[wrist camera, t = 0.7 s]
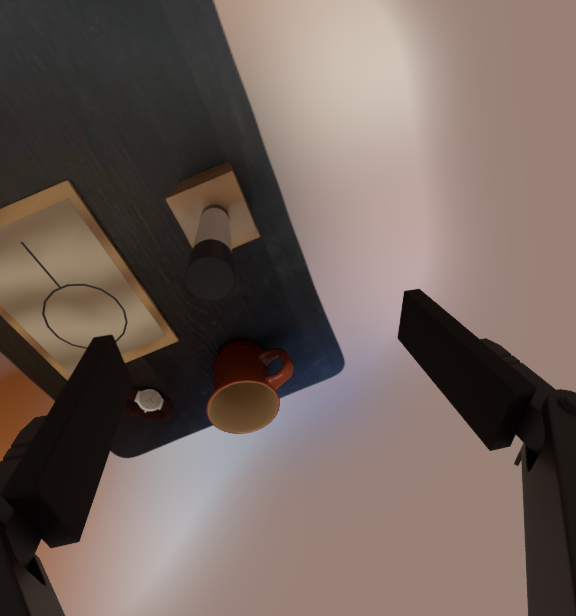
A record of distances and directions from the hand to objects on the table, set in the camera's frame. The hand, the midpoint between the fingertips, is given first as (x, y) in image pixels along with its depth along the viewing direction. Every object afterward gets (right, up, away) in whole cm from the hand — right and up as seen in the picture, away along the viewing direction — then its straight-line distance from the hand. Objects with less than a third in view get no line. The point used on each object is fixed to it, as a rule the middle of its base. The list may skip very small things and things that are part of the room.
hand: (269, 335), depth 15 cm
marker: (-5, +9, +13) cm, 17 cm away
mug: (-5, -5, +32) cm, 33 cm away
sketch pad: (-25, +3, +24) cm, 35 cm away
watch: (-20, -12, +33) cm, 41 cm away
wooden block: (-7, +14, +21) cm, 26 cm away
